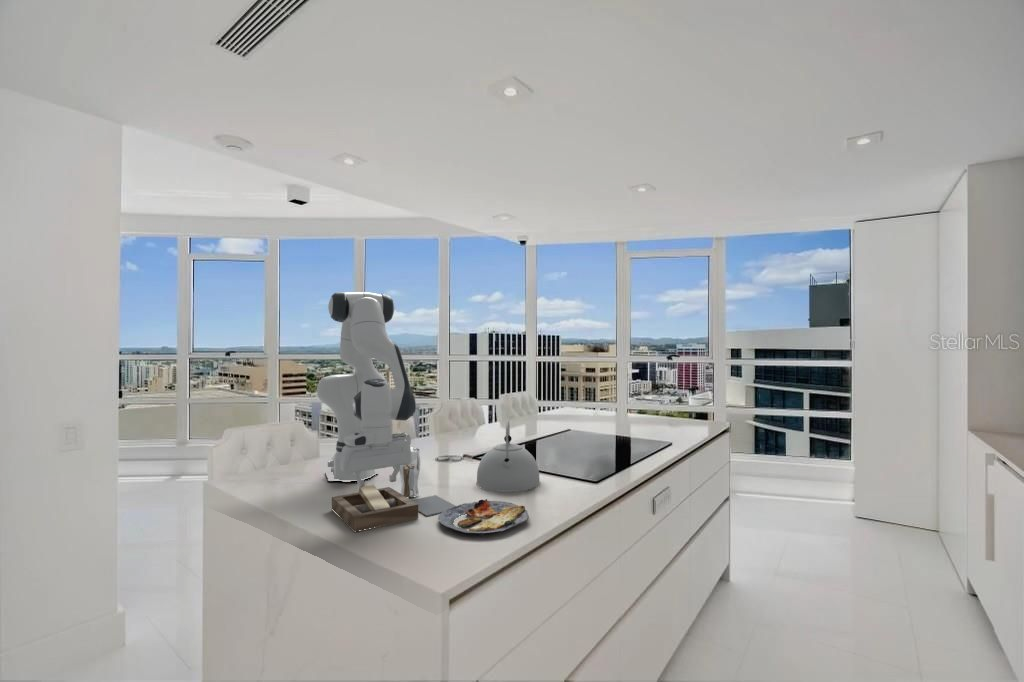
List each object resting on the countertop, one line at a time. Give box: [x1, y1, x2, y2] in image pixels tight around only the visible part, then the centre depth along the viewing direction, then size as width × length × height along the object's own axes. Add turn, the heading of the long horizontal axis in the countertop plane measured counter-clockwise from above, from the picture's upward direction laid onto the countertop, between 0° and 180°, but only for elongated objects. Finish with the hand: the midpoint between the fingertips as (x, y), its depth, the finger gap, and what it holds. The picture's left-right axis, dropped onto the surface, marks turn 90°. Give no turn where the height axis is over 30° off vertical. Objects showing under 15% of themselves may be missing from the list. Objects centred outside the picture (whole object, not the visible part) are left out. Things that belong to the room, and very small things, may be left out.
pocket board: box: [331, 486, 419, 532], centre depth 145 cm, size 22×18×4 cm
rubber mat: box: [411, 494, 457, 518], centre depth 152 cm, size 16×11×1 cm
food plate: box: [437, 498, 530, 535], centre depth 138 cm, size 25×23×4 cm
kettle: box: [476, 419, 541, 493], centre depth 177 cm, size 25×23×23 cm
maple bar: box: [358, 484, 390, 511], centre depth 144 cm, size 14×4×2 cm, turn 35°
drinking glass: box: [398, 447, 421, 498], centre depth 163 cm, size 7×7×15 cm
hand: (377, 484), depth 142 cm, fingers open, 8 cm apart
